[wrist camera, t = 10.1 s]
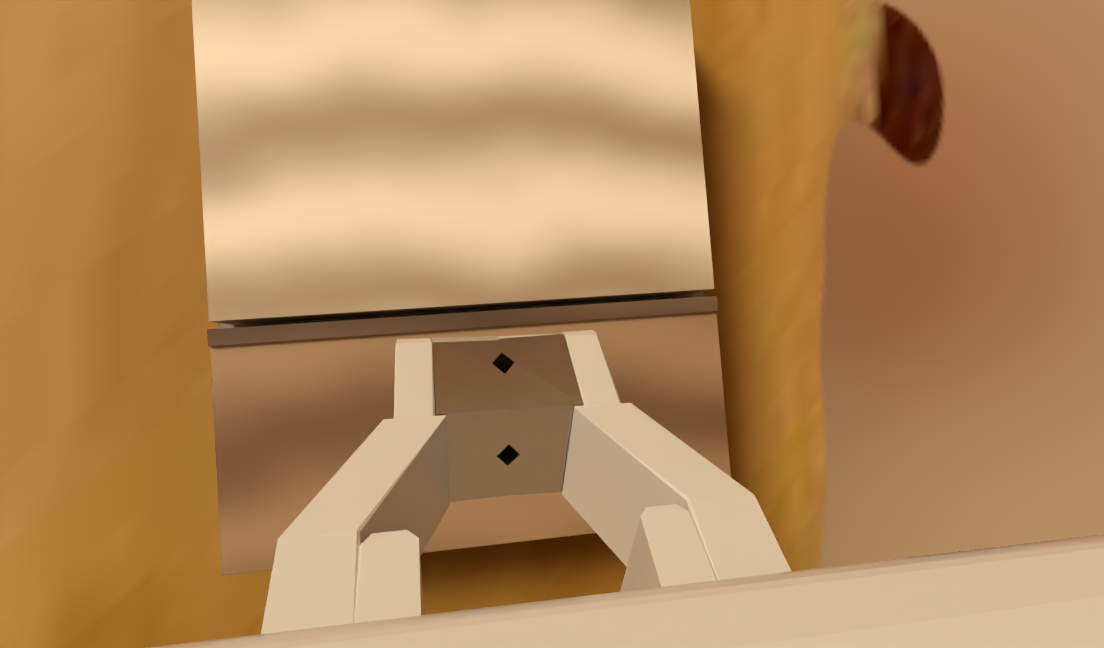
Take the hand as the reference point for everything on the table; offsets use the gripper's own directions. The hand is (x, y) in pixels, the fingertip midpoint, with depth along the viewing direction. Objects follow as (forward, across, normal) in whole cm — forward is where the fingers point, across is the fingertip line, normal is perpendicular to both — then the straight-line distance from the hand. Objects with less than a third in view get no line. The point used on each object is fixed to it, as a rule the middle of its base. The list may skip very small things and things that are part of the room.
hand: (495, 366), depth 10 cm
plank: (+19, -1, +5) cm, 20 cm away
